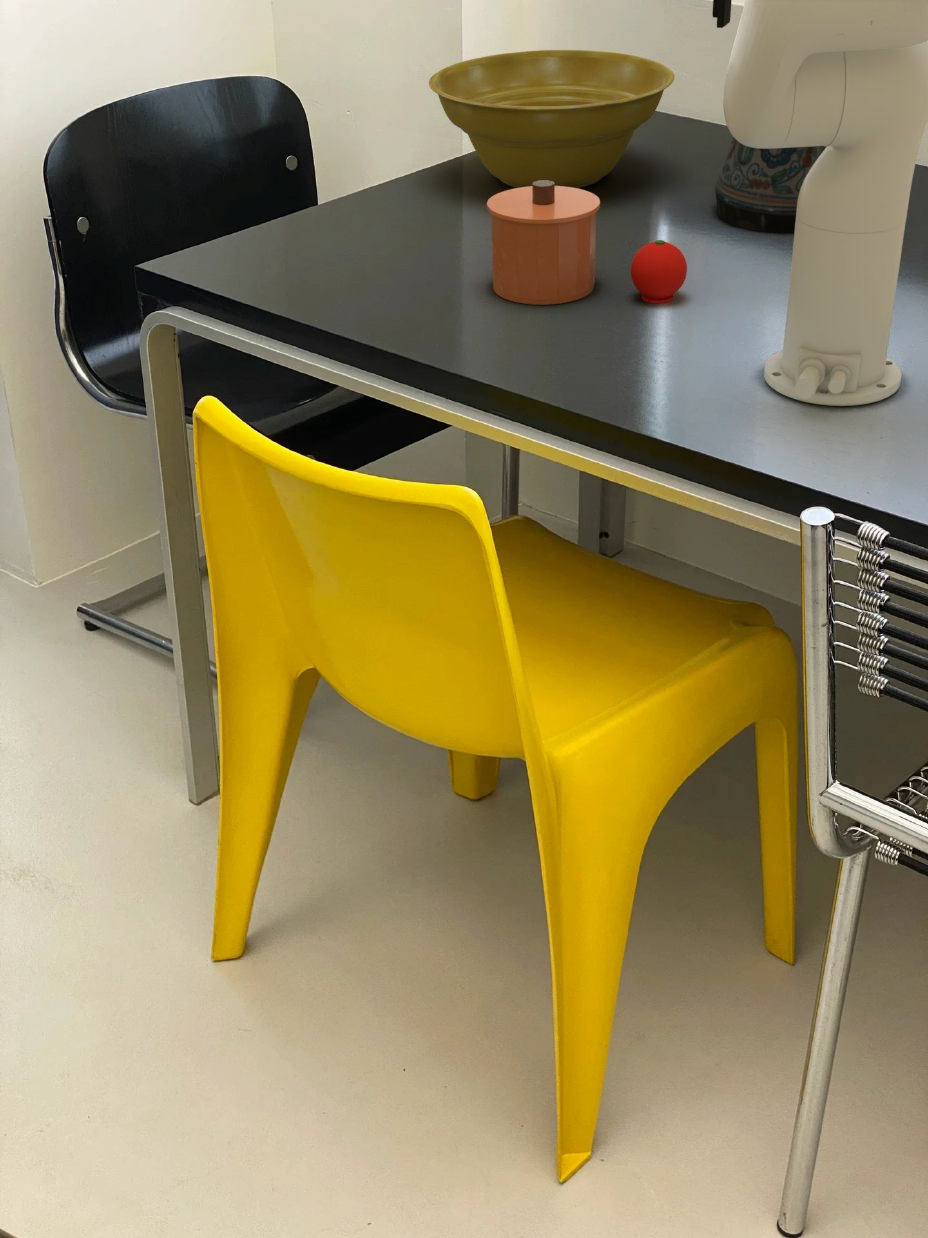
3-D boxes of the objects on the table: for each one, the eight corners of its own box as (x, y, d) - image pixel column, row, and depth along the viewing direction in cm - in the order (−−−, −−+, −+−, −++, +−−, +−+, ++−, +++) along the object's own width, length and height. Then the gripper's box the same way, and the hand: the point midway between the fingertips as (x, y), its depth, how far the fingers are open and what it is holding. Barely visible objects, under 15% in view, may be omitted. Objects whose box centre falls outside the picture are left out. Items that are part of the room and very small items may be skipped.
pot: (577, 308, 152) (578, 226, 147) (479, 299, 156) (477, 217, 151) (605, 274, 161) (607, 195, 156) (512, 265, 164) (511, 187, 159)
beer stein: (729, 189, 187) (743, -17, 173) (880, 201, 181) (907, -11, 167) (699, 227, 174) (713, 8, 160) (861, 241, 168) (889, 15, 154)
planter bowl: (568, 229, 175) (569, 116, 168) (384, 184, 194) (378, 81, 186) (716, 170, 194) (722, 67, 187) (536, 134, 213) (536, 40, 206)
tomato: (678, 310, 151) (681, 252, 148) (623, 304, 153) (625, 247, 149) (690, 290, 156) (694, 234, 152) (637, 285, 158) (639, 230, 154)
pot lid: (581, 233, 147) (582, 203, 145) (471, 224, 151) (470, 195, 149) (612, 199, 157) (613, 171, 155) (508, 191, 160) (507, 163, 159)
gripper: (686, -159, 137) (677, 30, 146) (869, -160, 131) (848, 37, 140) (705, -165, 143) (696, 17, 152) (881, -166, 137) (860, 23, 146)
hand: (769, 27), depth 146 cm, fingers open, 9 cm apart
